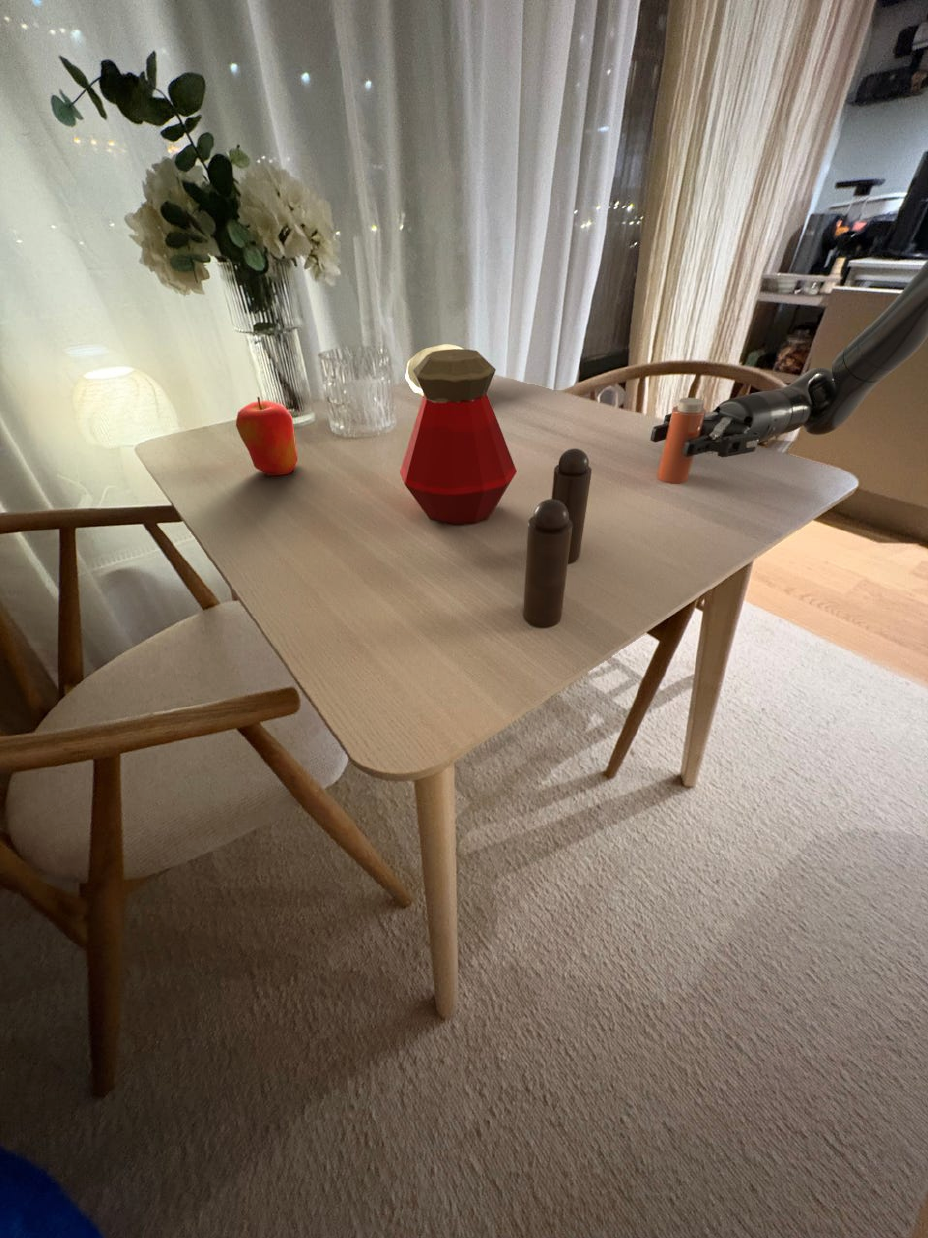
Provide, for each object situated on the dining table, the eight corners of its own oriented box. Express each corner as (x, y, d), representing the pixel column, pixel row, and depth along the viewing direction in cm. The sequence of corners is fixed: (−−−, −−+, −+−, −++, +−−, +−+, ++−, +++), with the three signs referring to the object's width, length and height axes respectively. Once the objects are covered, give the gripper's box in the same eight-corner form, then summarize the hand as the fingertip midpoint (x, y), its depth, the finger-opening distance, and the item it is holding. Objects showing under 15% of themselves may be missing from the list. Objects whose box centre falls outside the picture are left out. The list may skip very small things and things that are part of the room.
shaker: (687, 472, 77) (708, 397, 69) (687, 485, 73) (709, 407, 66) (657, 469, 78) (675, 395, 70) (656, 481, 75) (674, 404, 67)
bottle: (396, 535, 65) (373, 371, 52) (411, 489, 75) (395, 343, 62) (515, 536, 64) (522, 369, 51) (514, 489, 74) (520, 340, 61)
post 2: (581, 548, 61) (597, 444, 53) (576, 566, 58) (591, 458, 50) (550, 544, 62) (559, 440, 54) (543, 561, 60) (552, 454, 51)
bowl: (398, 410, 104) (392, 358, 97) (421, 391, 114) (417, 342, 107) (466, 415, 100) (464, 361, 94) (483, 394, 110) (483, 344, 104)
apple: (245, 469, 83) (220, 396, 76) (293, 456, 87) (273, 385, 79) (263, 486, 78) (238, 409, 70) (312, 471, 82) (294, 397, 74)
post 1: (564, 607, 53) (578, 493, 44) (557, 631, 50) (571, 515, 41) (527, 600, 54) (535, 488, 45) (518, 623, 51) (524, 508, 42)
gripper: (719, 382, 79) (639, 401, 73) (803, 407, 69) (717, 430, 63) (706, 430, 84) (629, 450, 78) (782, 459, 74) (700, 485, 68)
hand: (669, 441), depth 71 cm, fingers open, 5 cm apart
